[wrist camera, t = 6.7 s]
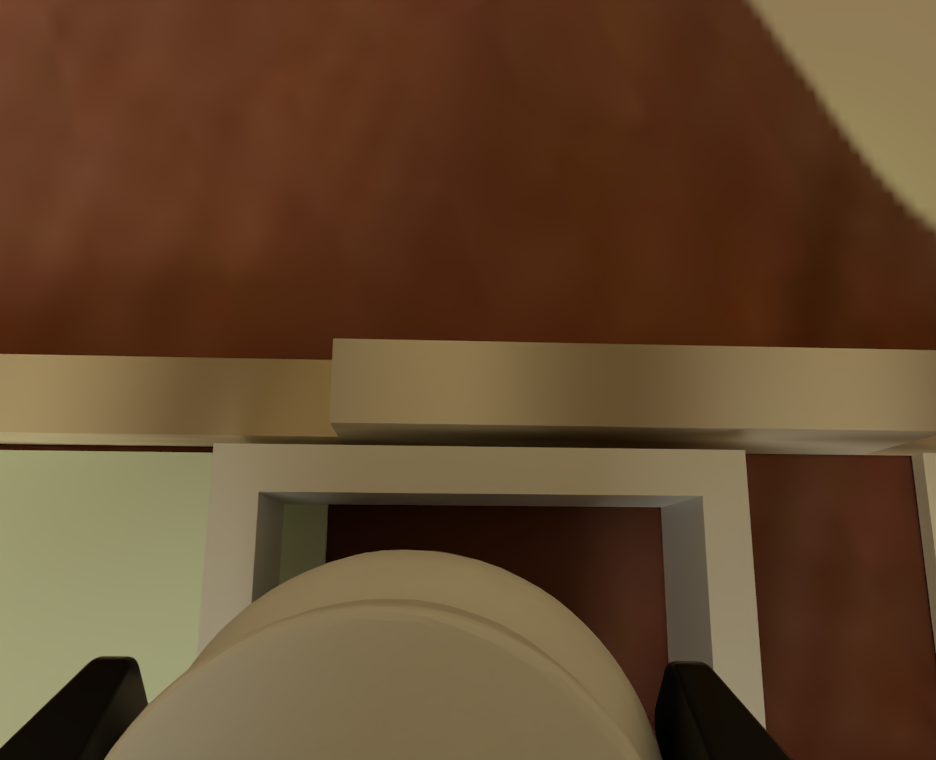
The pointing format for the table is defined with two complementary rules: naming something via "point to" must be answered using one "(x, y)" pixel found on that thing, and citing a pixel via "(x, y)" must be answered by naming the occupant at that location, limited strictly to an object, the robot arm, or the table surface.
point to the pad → (110, 566)
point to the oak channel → (486, 398)
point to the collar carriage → (507, 484)
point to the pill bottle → (398, 674)
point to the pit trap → (927, 520)
